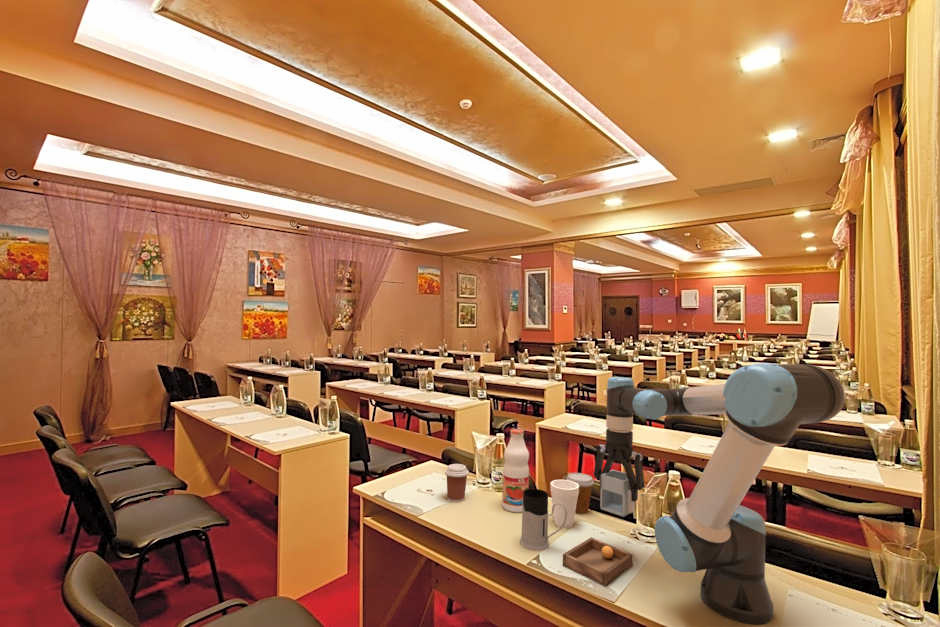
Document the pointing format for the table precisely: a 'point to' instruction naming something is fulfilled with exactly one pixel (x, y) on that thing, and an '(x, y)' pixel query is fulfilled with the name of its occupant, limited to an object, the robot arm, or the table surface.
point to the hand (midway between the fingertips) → (617, 507)
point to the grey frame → (615, 492)
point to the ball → (607, 551)
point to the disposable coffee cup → (582, 491)
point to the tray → (597, 561)
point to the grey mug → (536, 519)
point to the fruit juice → (515, 472)
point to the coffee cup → (456, 482)
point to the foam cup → (564, 501)
